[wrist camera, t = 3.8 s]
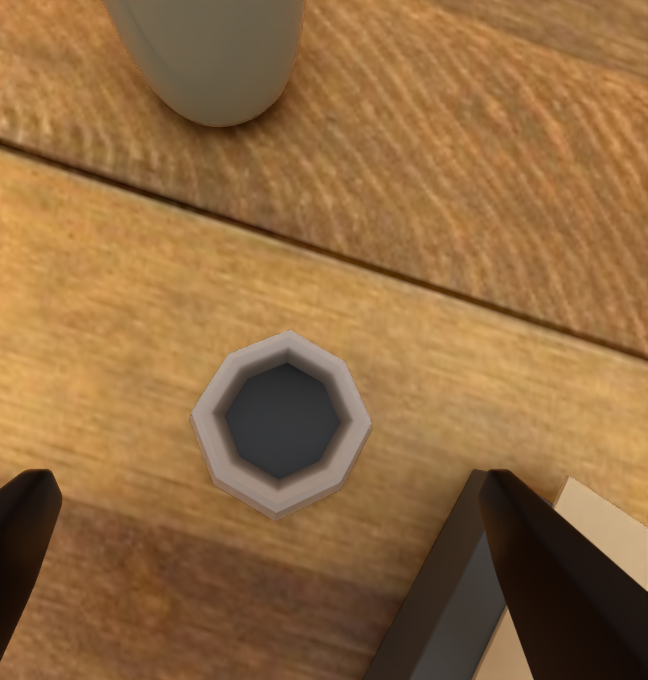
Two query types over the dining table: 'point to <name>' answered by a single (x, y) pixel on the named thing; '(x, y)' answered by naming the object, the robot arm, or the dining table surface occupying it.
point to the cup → (212, 53)
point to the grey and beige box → (487, 592)
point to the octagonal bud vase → (281, 424)
